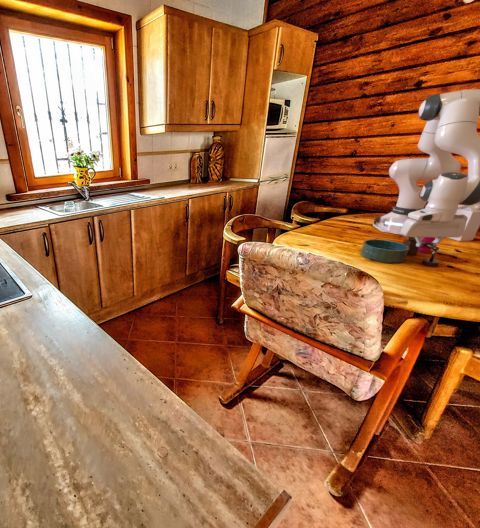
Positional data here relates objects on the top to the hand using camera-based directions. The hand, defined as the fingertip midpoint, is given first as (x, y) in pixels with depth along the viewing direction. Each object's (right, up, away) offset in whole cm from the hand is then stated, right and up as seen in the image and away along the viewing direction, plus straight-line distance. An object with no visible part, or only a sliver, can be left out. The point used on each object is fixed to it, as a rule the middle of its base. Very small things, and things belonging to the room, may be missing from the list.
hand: (425, 246), depth 118 cm
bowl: (-12, -4, +8) cm, 15 cm away
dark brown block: (+2, -3, +9) cm, 10 cm away
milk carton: (+42, +5, +24) cm, 49 cm away
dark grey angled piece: (+1, -5, +4) cm, 7 cm away
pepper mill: (+10, -1, +12) cm, 16 cm away
